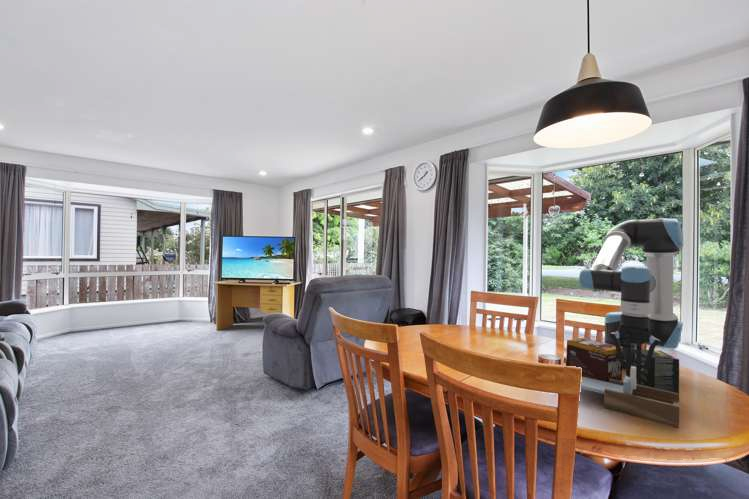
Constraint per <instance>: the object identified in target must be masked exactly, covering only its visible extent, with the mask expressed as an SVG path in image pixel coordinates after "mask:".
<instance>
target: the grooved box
mask: <svg viewBox="0 0 749 499" xmlns="http://www.w3.org/2000/svg"><path fill="white" fill-rule="evenodd" d="M623 381H624V380H622V381H620V380H615V379H609V383H613V384H618V385H623ZM603 395H604V398H603V399H604V400H603V409H606V410H610V411H613V412H614V411H615V412H617V413H621V414H624V415H629V416H632V417H636V418H640V419H644V420H648V421H651V422H655V423H659V424H663V425H666V426H668V427H669V426H670V427H672V428H673V427H674V428H678V429H679V428H680V405H679V402H678V393H675V392H670V391H666V390H661V389H656V388H652V387H647V386H643V385H638V384H636V390H635V389H633V393H632V395H631V394H627V393H623V392H618V391H614V390H610V389H606V388H605V393H604V394H603Z"/></svg>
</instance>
